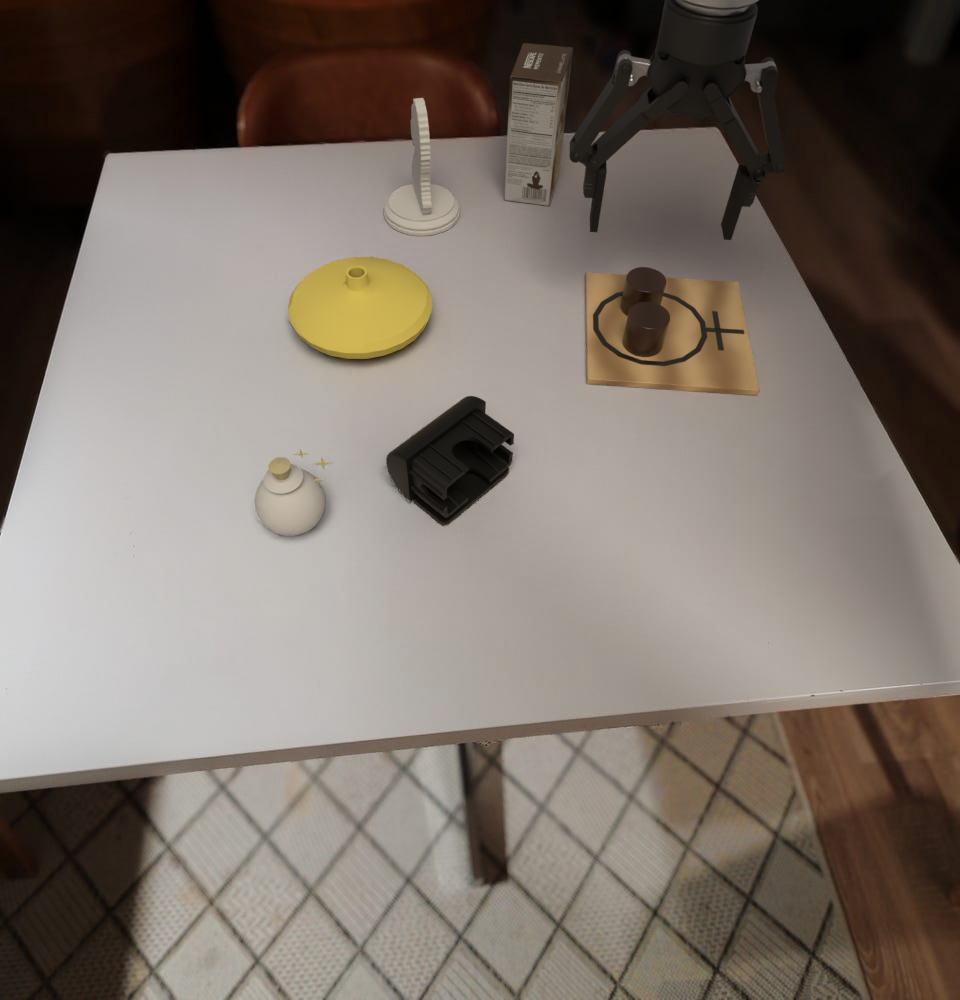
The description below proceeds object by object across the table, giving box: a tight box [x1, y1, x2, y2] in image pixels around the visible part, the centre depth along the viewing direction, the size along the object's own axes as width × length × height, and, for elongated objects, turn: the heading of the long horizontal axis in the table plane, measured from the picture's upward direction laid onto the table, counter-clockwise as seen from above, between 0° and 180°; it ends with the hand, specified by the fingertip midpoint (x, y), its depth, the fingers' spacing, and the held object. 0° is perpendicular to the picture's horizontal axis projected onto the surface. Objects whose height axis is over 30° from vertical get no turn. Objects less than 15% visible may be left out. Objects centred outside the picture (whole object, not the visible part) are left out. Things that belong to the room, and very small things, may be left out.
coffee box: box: [503, 42, 574, 207], centre depth 97 cm, size 9×6×16 cm
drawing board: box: [584, 271, 761, 396], centre depth 86 cm, size 18×18×1 cm
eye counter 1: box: [621, 266, 666, 316], centre depth 86 cm, size 4×4×4 cm
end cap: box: [385, 395, 515, 526], centre depth 71 cm, size 10×7×7 cm
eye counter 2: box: [622, 302, 670, 357], centre depth 83 cm, size 4×4×4 cm
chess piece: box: [383, 97, 461, 237], centre depth 93 cm, size 10×10×15 cm
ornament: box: [254, 448, 333, 537], centre depth 66 cm, size 6×7×10 cm
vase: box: [286, 256, 433, 360], centre depth 83 cm, size 16×16×7 cm
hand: (659, 228), depth 79 cm, fingers open, 13 cm apart
